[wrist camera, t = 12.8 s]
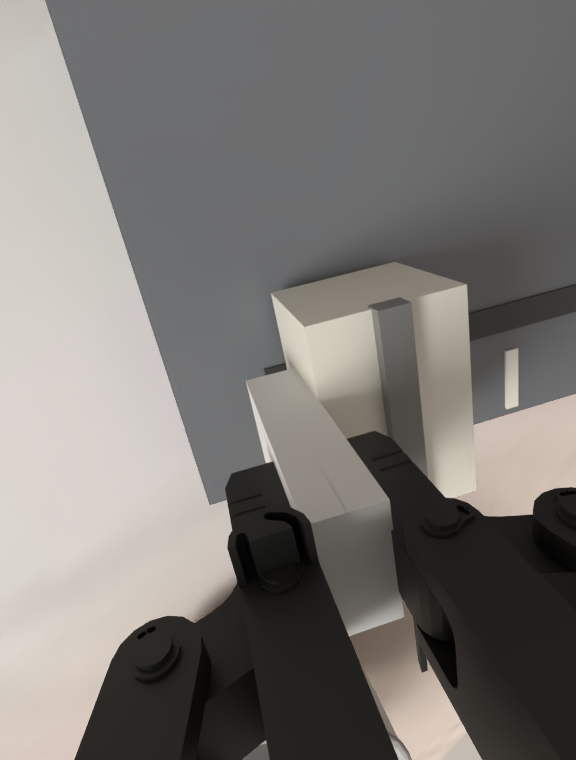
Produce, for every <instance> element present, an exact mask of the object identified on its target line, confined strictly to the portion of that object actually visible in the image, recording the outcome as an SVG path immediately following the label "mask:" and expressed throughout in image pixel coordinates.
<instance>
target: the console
mask: <svg viewBox="0 0 576 760" xmlns="http://www.w3.org/2000/svg"><path fill="white" fill-rule="evenodd" d="M45 1H46V4H47V7H48V10H49V13H50V16H51V19H52V23H53V26H54V29H55V32H56V35H57V38H58V41H59V44H60V47H61V50H62V53H63V56H64V59H65V62H66V65H67V69H68V72H69V75H70V78H71V81H72V84H73V87H74V90H75V93H76V96H77V99H78V102H79V105H80V108H81V111H82V115H83V118H84V121H85V124H86V127H87V130H88V133H89V136H90V139H91V142H92V145H93V148H94V151H95V154H96V157H97V161H98V164H99V167H100V170H101V173H102V176H103V179H104V182H105V185H106V188H107V191H108V194H109V197H110V200H111V203H112V207H113V210H114V213H115V216H116V219H117V222H118V225H119V228H120V231H121V234H122V237H123V240H124V243H125V246H126V249H127V253H128V256H129V259H130V262H131V265H132V268H133V271H134V274H135V277H136V280H137V283H138V286H139V289H140V292H141V295H142V299H143V302H144V305H145V308H146V311H147V314H148V317H149V320H150V323H151V326H152V329H153V332H154V335H155V338H156V341H157V345H158V348H159V351H160V354H161V357H162V360H163V363H164V366H165V369H166V372H167V375H168V378H169V381H170V384H171V387H172V391H173V394H174V397H175V400H176V403H177V406H178V409H179V412H180V415H181V418H182V421H183V424H184V427H185V430H186V433H187V437H188V440H189V443H190V446H191V449H192V452H193V455H194V458H195V461H196V464H197V467H198V470H199V473H200V476H201V479H202V483H203V486H204V489H205V492H206V495H207V498H208V501H209V504H210V505H212V504H215V503H218V502H222V501H225V500H227V497H226V491H225V487H226V485H227V483H228V480H229V478H230V476H231V473H234V472H238V471H241V470H245V469H248V468H252V467H255V466H259V465H262V464H266V462H265V458H264V454H263V450H262V446H261V442H260V438H259V433H258V429H257V425H256V421H255V417H254V413H253V409H252V405H251V400H250V396H249V392H248V388H247V384H246V380H250V379H254V378H258V377H262V376H265V375H269V374H273V373H277V372H281V371H285V370H287V366H286V362H285V357H284V352H283V348H282V343H281V338H280V334H279V329H278V325H277V320H276V315H275V311H274V306H273V301H272V297H271V293H272V292H276V291H280V290H284V289H288V288H292V287H296V286H300V285H304V284H308V283H312V282H316V281H320V280H324V279H328V278H332V277H336V276H340V275H344V274H348V273H352V272H356V271H360V270H364V269H368V268H372V267H376V266H380V265H384V264H388V263H392V262H397V263H400V264H403V265H407V266H410V267H413V268H416V269H419V270H423V271H426V272H429V273H432V274H435V275H439V276H442V277H445V278H448V279H451V280H455V281H458V282H461V283H464V284H467V297H468V318H469V340H470V362H471V383H472V405H473V425H474V424H477V423H481V422H484V421H487V420H491V419H494V418H497V417H500V416H504V415H507V414H510V413H514V412H517V411H520V410H523V409H527V408H530V407H533V406H537V405H540V404H543V403H546V402H550V401H553V400H556V399H560V398H563V397H566V396H569V395H573V394H576V0H45Z"/></svg>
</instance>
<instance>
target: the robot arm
mask: <svg viewBox="0 0 576 760" xmlns="http://www.w3.org/2000/svg"><path fill="white" fill-rule="evenodd" d="M246 384H247V388H248V392H249V396H250V400H251V405H252V409H253V413H254V417H255V421H256V425H257V429H258V433H259V438H260V442H261V446H262V450H263V454H264V458H265V462H266V464H262V465H259V466H255V467H252V468H248V469H245V470H241V471H238V472H234V473H231V476H230V478H229V480H228V483H227V485H226V487H225V491H226V497H227V503H228V508H229V514H230V518H231V525H232V530H233V531H232V532H231V534H230V535H229V539H228V551H229V555H230V558H231V561H232V565H233V568H234V571H235V574H236V578H237V584H236V586H235V588H234V590H233V592H232V593H231V595H230V596H229V597H228V598H227V599H226V601H225V602H224V603H223V604H222V605H221V606H219V607H218V608H217V609H215V610H214V611H213V612H211V613H210V614H208V615H207V616H205V617H204V618H202V619H200V620H199V621H197V622H196V623H193V622H191V621H189V620H188V619H186V618H184V617H178V616H165V617H162V618H158V619H155V620H151V621H149V622H148V623H146V624H144V625H143V626H141V627H139V628H138V629H136V630H135V631H133V632H132V633H131V634H130V636H129V637H128V638H127V639H126V640H125V641H124V642H123V643H122V644H121V645H120V646H119V648H118V650H117V652H116V654H115V655H114V657H113V659H112V661H111V663H110V666H109V668H108V671H107V674H106V676H105V679H104V682H103V685H102V687H101V690H100V693H99V695H98V698H97V701H96V703H95V706H94V709H93V711H92V714H91V717H90V719H89V722H88V725H87V727H86V730H85V733H84V736H83V738H82V741H81V744H80V746H79V749H78V752H77V754H76V757H75V760H243V758H245V757H246V756H247V755H248V754H250V753H251V752H252V751H253V750H254V749H256V748H257V747H258V746H259V745H261V744H262V743H263V742H264V741H266V742H267V747H268V753H269V759H270V760H399V759H398V757H397V754H396V752H395V749H394V747H393V744H392V742H391V739H390V737H389V734H388V732H387V729H386V727H385V724H384V722H383V719H382V717H381V714H380V712H379V709H378V707H377V705H376V702H375V700H374V697H373V695H372V692H371V690H370V687H369V685H368V682H367V680H366V677H365V675H364V672H363V670H362V667H361V665H360V662H359V660H358V657H357V655H356V652H355V650H354V647H353V645H352V643H351V640H350V638H349V636H351V635H354V634H357V633H360V632H363V631H366V630H369V629H372V628H375V627H378V626H381V625H383V624H386V623H389V622H392V621H395V620H398V619H401V618H404V611H403V603H402V598H403V600H404V602H405V603H406V605H407V607H408V609H409V610H410V612H411V614H412V616H413V619H414V627H415V636H416V645H417V653H418V661H419V664H420V668H421V671H422V672H425V671H428V669H427V659H428V661H429V663H430V665H431V667H432V669H433V670H434V672H435V674H436V676H437V678H438V680H439V681H440V683H441V685H442V687H443V689H444V691H445V692H446V694H447V696H448V698H449V700H450V702H451V703H452V705H453V707H454V709H455V711H456V713H457V714H458V716H459V718H460V720H461V722H462V724H463V725H464V727H465V729H466V731H467V733H468V735H469V736H470V738H471V740H472V742H473V744H474V745H475V747H476V749H477V751H478V753H479V755H480V756H481V758H482V760H576V488H572V487H570V488H556V489H553V490H550V491H547V492H544V493H542V494H541V495H540V496H539V497H538V498H537V499H536V500H535V501H534V508H533V515H520V516H504V517H488V516H483V515H482V514H481V513H480V512H479V511H478V510H477V509H475V508H474V507H473V506H471V505H470V504H468V503H466V502H463V501H460V500H457V499H455V498H445V497H444V495H443V494H442V493H441V492H440V491H439V490H438V489H437V488H436V487H435V485H434V484H433V483H432V482H431V481H430V480H429V479H428V478H427V477H426V475H425V474H424V473H423V472H422V471H421V470H420V469H419V468H418V467H417V465H416V464H415V463H414V462H413V463H412V460H411V459H410V458H409V457H408V456H407V454H406V453H403V450H402V449H401V448H400V447H399V446H398V444H397V443H396V442H395V441H394V440H393V439H392V438H390V437H388V436H386V435H383V434H381V433H379V432H377V431H372V432H368V433H365V434H361V435H358V436H354V437H351V438H347V439H346V438H345V436H344V435H343V434H342V432H341V431H340V429H339V428H338V427H337V425H336V424H335V422H334V421H333V420H332V418H331V417H330V415H329V414H328V413H327V411H326V410H325V408H324V407H323V406H322V404H321V403H320V401H318V400H317V398H316V397H315V395H314V394H313V393H312V391H311V390H310V388H309V387H308V386H307V384H306V383H305V381H304V380H303V379H302V377H301V376H300V374H299V373H298V371H297V370H296V369H295V368H292V369H288V370H285V371H281V372H277V373H273V374H269V375H265V376H262V377H258V378H254V379H250V380H246ZM426 658H427V659H426Z"/></svg>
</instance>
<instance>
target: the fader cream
mask: <svg viewBox="0 0 576 760" xmlns="http://www.w3.org/2000/svg"><path fill="white" fill-rule="evenodd" d="M271 297H272V301H273V306H274V311H275V315H276V320H277V325H278V329H279V334H280V338H281V343H282V348H283V352H284V357H285V362H286V366H287V370H288V369H292V368H295V369H296V370H297V371H298V373H299V374H300V376H301V377H302V379H303V380H304V381H305V383H306V384H307V386H308V387H309V388H310V390H311V391H312V393H313V394H314V395H315V397H316V398H317V400H318V401H320V403H321V404H322V406H323V407H324V408H325V410H326V411H327V413H328V414H329V415H330V417H331V418H332V420H333V421H334V422H335V424H336V425H337V427H338V428H339V429H340V431H341V432H342V434H343V435H344V436H345V438H346V439H347V438H351V437H354V436H358V435H361V434H365V433H368V432H372V431H377V432H379V433H381V434H383V435H386V436H388V437H390V438H392V439H393V440H394V441H395V442H396V443H397V444H398V446H399V447H400V448H401V449H402V450H403V453H406V454H407V456H408V457H409V458H410V459H411V460H412V463H413V462H414V463H415V464H416V465H417V467H418V468H419V469H420V470H421V471H422V472H423V473H424V474H425V475H426V477H427V478H428V479H429V480H430V481H431V482H432V483H433V484H434V485H435V487H436V488H437V489H438V490H439V491H440V492H441V493H442V494H443V495H444V497H445V498H455V497H458V496H461V495H464V494H467V493H470V492H473V491H476V470H475V448H474V427H473V405H472V383H471V362H470V340H469V318H468V297H467V284H464V283H461V282H458V281H455V280H451V279H448V278H445V277H442V276H439V275H435V274H432V273H429V272H426V271H423V270H419V269H416V268H413V267H410V266H407V265H403V264H400V263H397V262H392V263H388V264H384V265H380V266H376V267H372V268H368V269H364V270H360V271H356V272H352V273H348V274H344V275H340V276H336V277H332V278H328V279H324V280H320V281H316V282H312V283H308V284H304V285H300V286H296V287H292V288H288V289H284V290H280V291H276V292H272V293H271Z"/></svg>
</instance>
